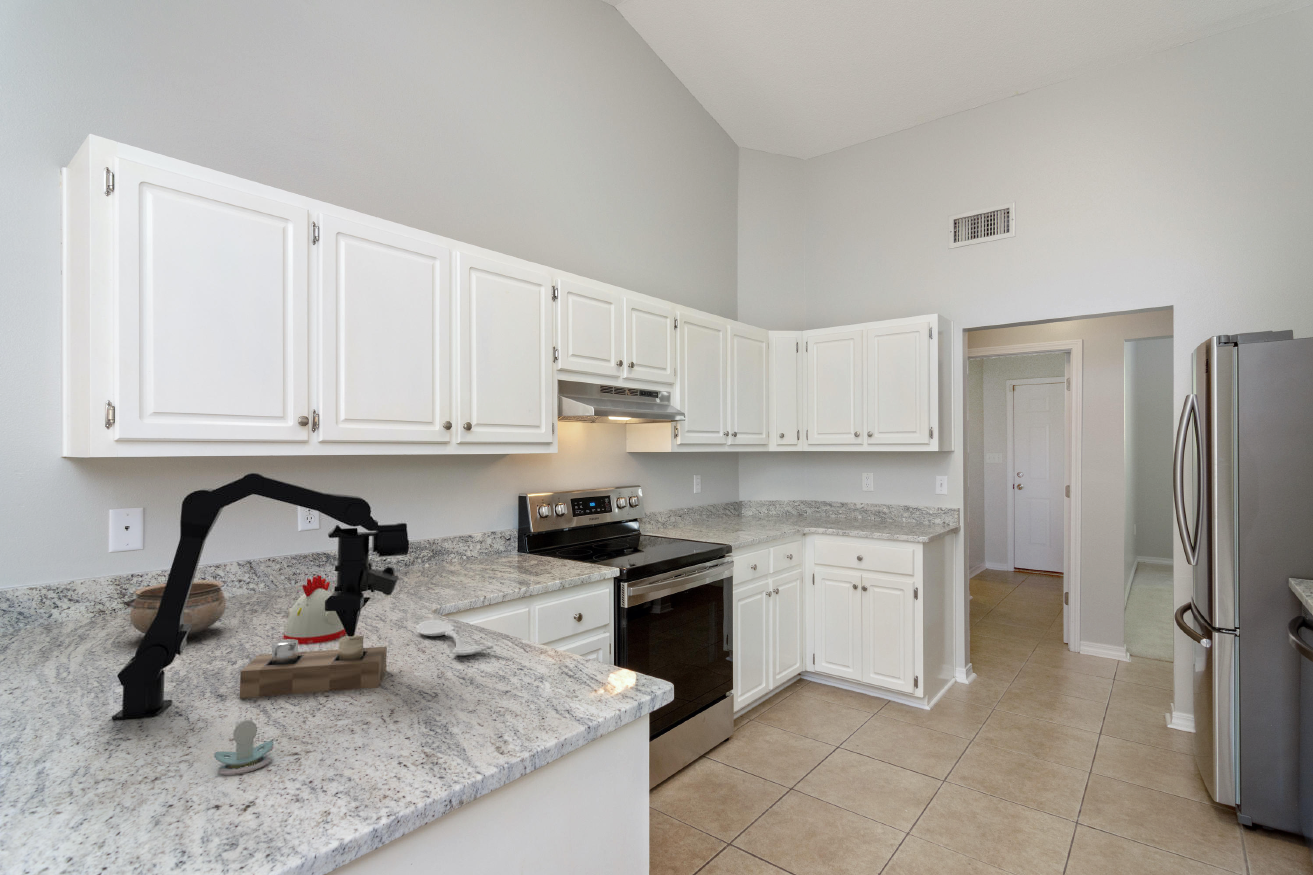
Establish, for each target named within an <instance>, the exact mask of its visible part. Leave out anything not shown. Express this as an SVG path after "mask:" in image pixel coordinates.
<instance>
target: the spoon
mask: <svg viewBox="0 0 1313 875" xmlns="http://www.w3.org/2000/svg"><path fill="white" fill-rule="evenodd" d="M415 630H416V631H417V632H418V633H419V634H421V635H424V636H428V637H441V636H446V637H451V638H452V639H453V640H454V641H455V647H454V649H453V650H452V651H451V653H452V654H454V655H455V656H461V657H462V656H472V655H474V654H479V653H481V652H485V651H487V650H492V649H494V645H493V644H492V643H490V644H485V645H469V644H467V643H465V641H464V640H463V638H461V637H460V635H459V634H458V631H457V630H456V628H455V626H454V625H453V624H452V623H449V622H447V621H444V620H438V619H437V620H436V619H430V620H428V619H427V620H425V621H422V622H420V623H419V624H417V625H416V627H415Z"/></svg>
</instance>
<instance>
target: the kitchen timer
mask: <svg viewBox="0 0 1313 875" xmlns="http://www.w3.org/2000/svg"><path fill="white" fill-rule="evenodd" d="M330 585H331V582H328V581H327V579H326V578H322V575H319V574H318V575H317V576H312V579H311V578H307V579H306V584H302V585H301V586H302V589H303V592H304V594H302V595H301V596H300V597H299V598H298V599H297V600H296V601H295V603H294V604H293V606H292V607H290V608H289V609H288V610H287V612H286V613H287V614H286V618H287V619H286V622H285V625H284V628H283V629H284V630H283V639H282V640H286V639H295V640H298V645H310V644H319V643H326V642H330V641H335V640H339V639H340V638H343V637H345V635H347V633H346V631H345V629H344V627H343V625H342V623H341V621H340V619H339V617H338V615H337V613H336V611H325V601H326V600H327V599H328V598H329V597H330V596H331V595H332V594H333V593H331V592H329V591H328V590H329V587H330Z"/></svg>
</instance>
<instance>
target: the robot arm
mask: <svg viewBox="0 0 1313 875" xmlns="http://www.w3.org/2000/svg"><path fill="white" fill-rule="evenodd" d="M252 495H256V496H260V497H262V498H263V497H264V498H268V499H271V500H275V501H279V502H283V503H286V504H290V505H292V506H293V505H294V506H298V507H300V508H305V509H309V510H313V511H315V512H316V511H317V512H318V513H321V514H324V515H325V516H327V517H330V518H331V519H334V520H336V521H338V522H340V523H342V524H345V525H347V526H349V527H347V528H346V527H345V528H342V527H341V526H339V524H336V525H335V526H334V528H333V529H332V530H331V531H329V532H328V533H327V535H328V538H329V539H337V564H336V565H335V566H334V572H337V573H336V585H335V586H334V591H333V593H331V594H332V595H331V596H330V597H329V598H328V599H327V600H326V601H325V611H336V613H337V615H338V617H339V619H340V621H341V623H342V625H343V627H344V629H345V631H346V636H348V637H352V636H354V635H355V634H356V632H357V627H358V625H359V624H358V623H359V619H360V615H361V611H362V609H363V608H364V607H365V606H366V605H367V603H368V602H369V601H370V600H371V598H372V597H371V596H365V593H364V592H368V591H370V593H375V592H380V593H382V594H384V595H385V596H391V595H392V594H393V592H394V590H395V588H396V586H397V583H398V580H399V579H400V578H399V575H397V574H396V572H395V568H394V567H391V566H387V567H385V568H384V569H383V570H381V569H378V570H377V569H373V563H372V562H371V561H369V560H370V558H369V557H370V555H369V554H370V537H372V538H371V551H372V553H376V555H377V557H378V558H383V557H384V558H387V557H400V556H408V554H409V549H410V540H409V534H408V525H407V523H406V522H398V523H392V524H379V521H378V520H377V519H374V518H373V516H372V515H371V514H372V513H371V512H372V508H371V505H370V504H369V502H368V501H366V500H365V499H364V498H363V497H361V496H359V495H358V496H357V495H346V494H342V493H341V494H339V493H331V492H322V491H318V490H315V489H312V488H307V487H305V486H302V485H297V484H294V483H290V482H287V481H284V480H279V479H275V478H274V477H273V478H272V477H270V476H269V477H268V476H265V475H262V474H261V473H259V472H249V473H247V474H245V475H244V476H243V477H241V478H238V479H236V480H233V481H231V482H229V483H227V484H225V485H222V486H220V487H217V488H215V489H214V488H208V487H206V488H201V489H197V490H195V491H192V492H191V493H188V494H187V495H186V496H185V497H184V498H183V501H182V503H181V511H180V518H179V519H180V521H179V523H180V524H179V527H180V530H179V532H180V534H179V542H178V544H177V546H176V550H175V554H174V558H173V560H172V563H171V567H170V570H169V574H168V576H167V580H166V586H165V589H164V592H163V596H162V599H161V602H160V605H159V608H158V612H157V615H156V617H155V618H154V620H153V622H152V624H151V625H150V627H149V629H148V630H147V632H146V634H144V636H143V638H142V640H141V641H140V643H139V645H138V647H137V649H136V651H135V653H134V656H133V657H132V658H130V659H129V661H128V662H127V663H126V664H125V665H124V667H123V668H122V669H121V670H120V671H119V672H118V673H117V678H118V682H119V684H120V685H121V686H122V700H121V701H122V705H121V709H120V710H119V711H117V712H116V713H115V714H113V715H112V716H111V720H125V719H137V718H148V717H149V718H150V717H156V716H157V715H159V713H161V712H163V711H164V710H165V709H166V708H168V706H170V705H171V704H173V699H165V675H166V674H165V673H166V672H165V670H164V669H165V668H167V667H168V666H170V665H171V664H172V663H173V661H175V658H176V657H177V655H178V656H181V654H182V653H183V652H184V649H185V648H186V647H187V644H188V643H187V639H186V638H187V634H188V632H189V630H190V628H191V626H192V624H184V610H185V607H186V604H187V600H188V597H189V594H190V590H191V587H192V584H193V581H195V576H196V574H197V570H198V567H199V564H200V561H201V557H202V553H203V551H204V547H205V544H206V541H207V539H208V537H209V535H210V533H211V532H212V530H213V527H215V525H216V523H217V521H218V519H219V517H220V515H221V513H222V512H223V510H224V508H225V507H227V506H229V505H232V504H234V503H236V502H238V501H241V500H243V499H245V498H247V497H250V496H252ZM357 527H361V528H363V529H365V530H367V531H363V532H362V531H358V528H357Z"/></svg>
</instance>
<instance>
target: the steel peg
mask: <svg viewBox="0 0 1313 875" xmlns="http://www.w3.org/2000/svg"><path fill="white" fill-rule="evenodd" d="M298 650H299V644H298V640H295V639H286V640H283V639H280V640H277V641H274V642H272V643H271V654H272V665H280V664H294V663H296V662H297V659H298V652H299V651H298Z"/></svg>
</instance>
